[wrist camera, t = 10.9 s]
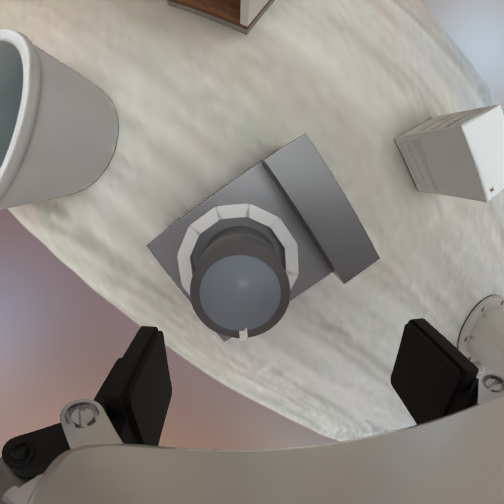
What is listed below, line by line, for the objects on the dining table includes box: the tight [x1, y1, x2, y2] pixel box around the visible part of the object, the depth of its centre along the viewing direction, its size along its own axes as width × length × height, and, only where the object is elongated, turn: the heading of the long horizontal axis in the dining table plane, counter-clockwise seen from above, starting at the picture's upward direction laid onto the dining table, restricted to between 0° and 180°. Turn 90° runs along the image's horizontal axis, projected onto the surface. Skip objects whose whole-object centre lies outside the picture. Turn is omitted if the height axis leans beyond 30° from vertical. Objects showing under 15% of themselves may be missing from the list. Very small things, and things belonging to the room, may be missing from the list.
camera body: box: [146, 133, 380, 342], centre depth 27 cm, size 11×15×11 cm
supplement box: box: [395, 105, 504, 202], centre depth 24 cm, size 7×7×13 cm
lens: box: [190, 226, 290, 341], centre depth 21 cm, size 6×6×7 cm
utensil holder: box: [0, 29, 118, 209], centre depth 20 cm, size 15×15×18 cm
